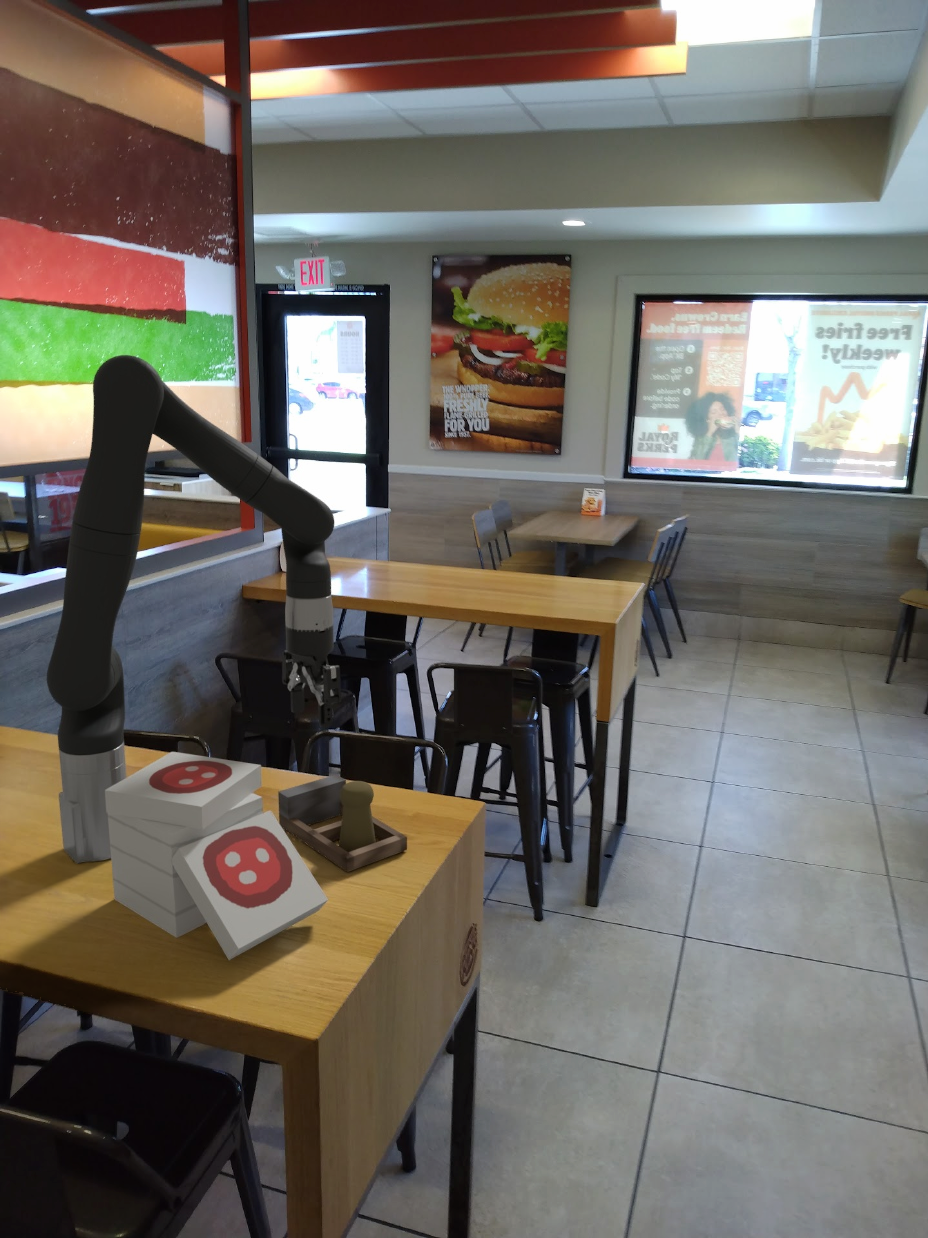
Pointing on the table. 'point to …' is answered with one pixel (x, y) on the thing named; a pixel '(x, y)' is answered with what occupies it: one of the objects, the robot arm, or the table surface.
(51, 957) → the table surface
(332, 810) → the divided wooden tray frame
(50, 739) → the table surface
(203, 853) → the pizza boxes
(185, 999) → the table surface
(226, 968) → the table surface
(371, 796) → the cork
